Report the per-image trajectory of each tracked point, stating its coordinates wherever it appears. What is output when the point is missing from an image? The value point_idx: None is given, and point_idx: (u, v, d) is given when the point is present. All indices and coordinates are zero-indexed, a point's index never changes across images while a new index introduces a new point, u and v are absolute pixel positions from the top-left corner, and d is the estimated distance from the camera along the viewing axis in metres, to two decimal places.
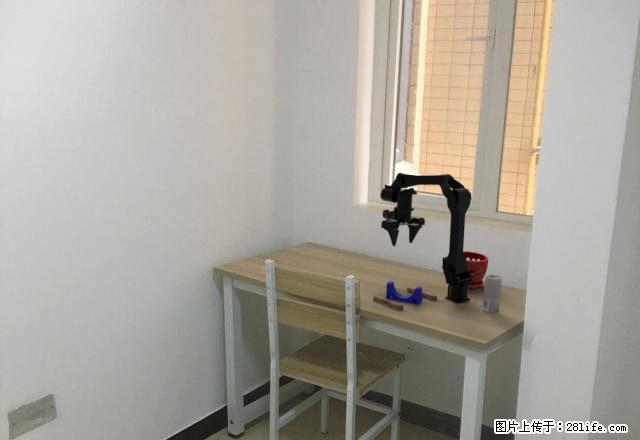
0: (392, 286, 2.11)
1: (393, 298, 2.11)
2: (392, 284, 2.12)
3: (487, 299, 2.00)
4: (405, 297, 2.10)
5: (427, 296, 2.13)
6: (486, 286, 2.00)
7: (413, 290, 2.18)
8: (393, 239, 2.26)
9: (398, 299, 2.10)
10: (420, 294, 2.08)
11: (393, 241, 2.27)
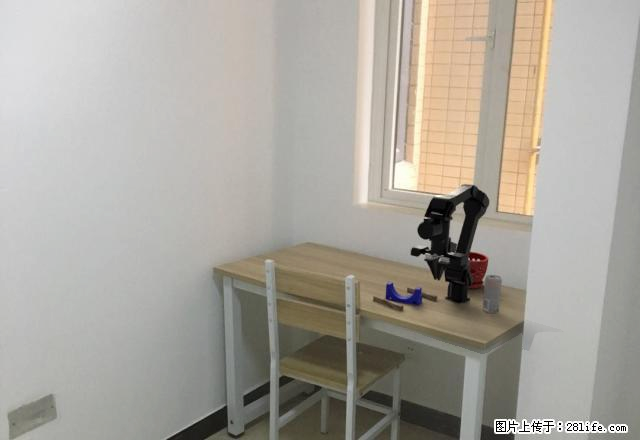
0: (391, 287, 2.10)
1: (393, 299, 2.10)
2: (391, 285, 2.11)
3: (487, 299, 2.00)
4: (405, 298, 2.09)
5: (427, 296, 2.13)
6: (486, 286, 2.00)
7: (413, 290, 2.18)
8: None
9: (398, 300, 2.09)
10: (420, 295, 2.07)
11: None
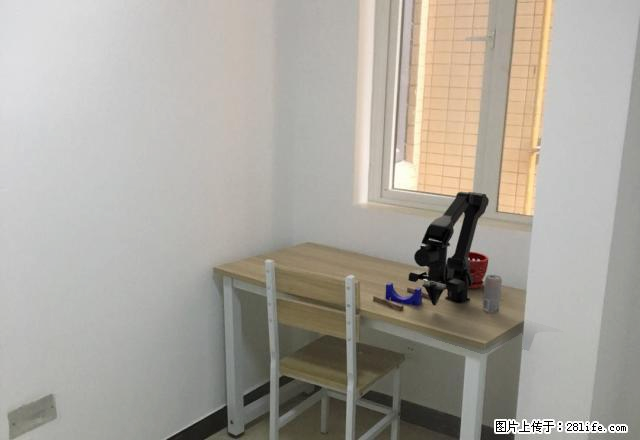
0: (391, 287, 2.10)
1: (392, 299, 2.09)
2: (391, 285, 2.10)
3: (487, 299, 2.00)
4: (404, 298, 2.08)
5: (427, 296, 2.13)
6: (486, 286, 2.00)
7: (413, 290, 2.18)
8: None
9: (397, 300, 2.08)
10: (420, 295, 2.07)
11: None
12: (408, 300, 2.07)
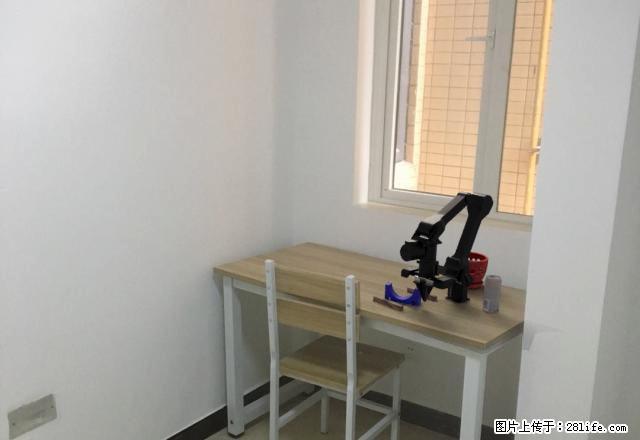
0: (390, 287, 2.10)
1: (392, 299, 2.09)
2: (390, 285, 2.10)
3: (487, 299, 2.00)
4: (404, 298, 2.08)
5: None
6: (486, 286, 2.00)
7: (413, 290, 2.18)
8: None
9: (397, 300, 2.08)
10: (419, 295, 2.06)
11: None
12: (407, 300, 2.06)
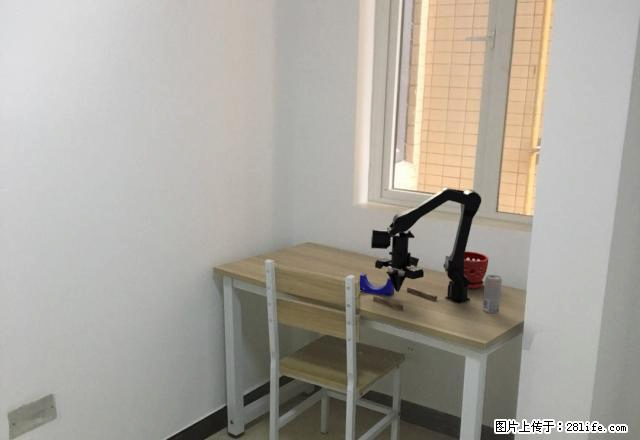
0: (365, 278, 2.19)
1: (366, 289, 2.18)
2: (365, 276, 2.19)
3: (487, 299, 2.00)
4: (378, 288, 2.17)
5: (427, 296, 2.13)
6: (486, 286, 2.00)
7: (413, 290, 2.18)
8: None
9: (371, 290, 2.17)
10: (392, 285, 2.16)
11: None
12: (381, 290, 2.16)
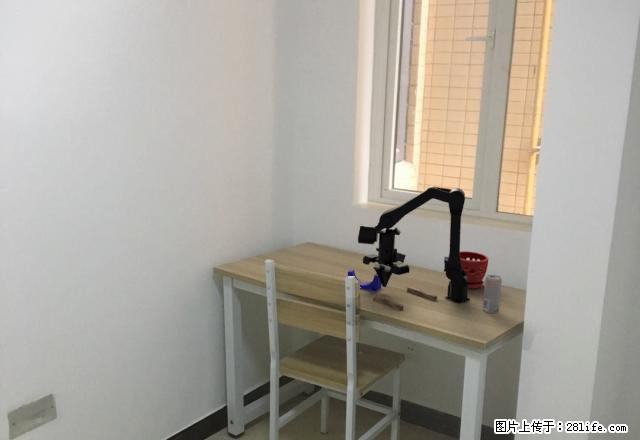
0: (353, 274, 2.24)
1: None
2: (353, 272, 2.24)
3: (487, 299, 2.00)
4: (365, 284, 2.23)
5: (427, 296, 2.13)
6: (486, 286, 2.00)
7: (413, 290, 2.18)
8: None
9: None
10: (379, 281, 2.21)
11: None
12: (368, 286, 2.21)
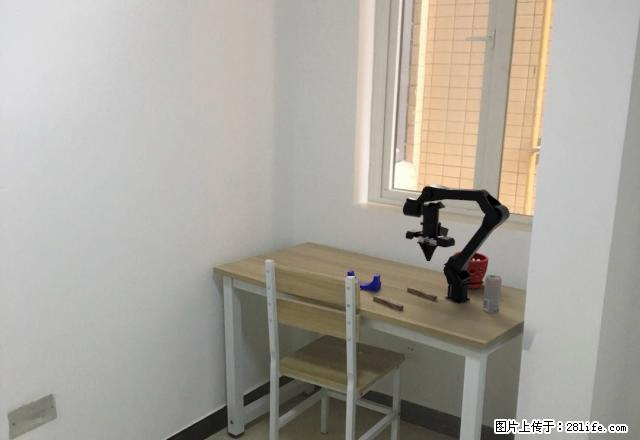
0: (352, 274, 2.24)
1: None
2: (352, 273, 2.24)
3: (487, 299, 2.00)
4: (364, 285, 2.22)
5: (427, 296, 2.13)
6: (486, 286, 2.00)
7: (413, 290, 2.18)
8: None
9: None
10: (379, 281, 2.20)
11: None
12: (368, 286, 2.20)
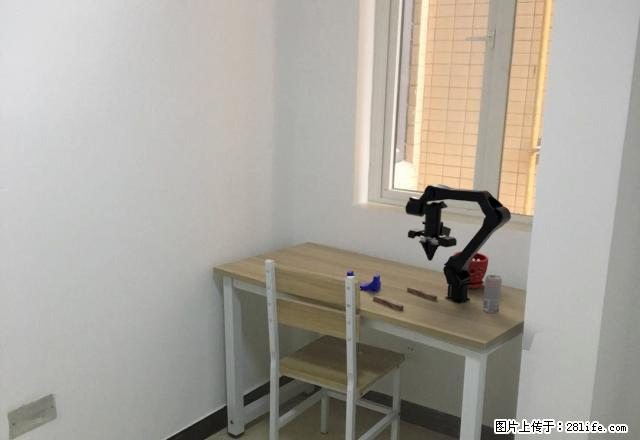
0: (352, 275, 2.23)
1: None
2: (352, 273, 2.23)
3: (487, 299, 2.00)
4: (364, 285, 2.21)
5: (427, 296, 2.13)
6: (486, 286, 2.00)
7: (413, 290, 2.18)
8: None
9: None
10: (378, 282, 2.20)
11: None
12: (367, 287, 2.20)
